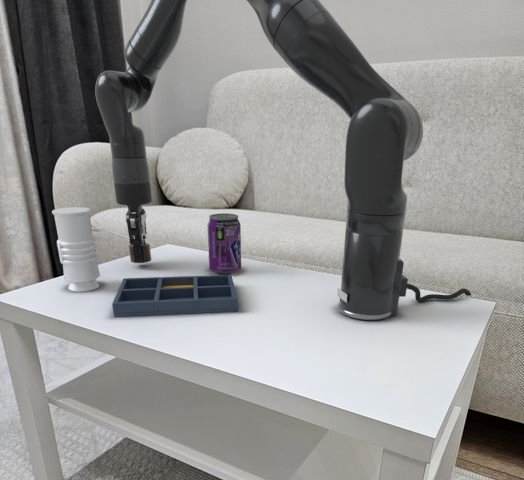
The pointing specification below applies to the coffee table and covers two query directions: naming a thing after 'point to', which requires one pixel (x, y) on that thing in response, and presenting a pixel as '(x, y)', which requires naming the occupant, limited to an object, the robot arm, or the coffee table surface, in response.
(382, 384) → the coffee table surface
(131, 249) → the brown cylindrical piece
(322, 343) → the coffee table surface
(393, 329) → the coffee table surface
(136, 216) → the robot arm
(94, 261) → the white ribbed cylinder
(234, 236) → the beverage can
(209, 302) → the grey compartment tray
